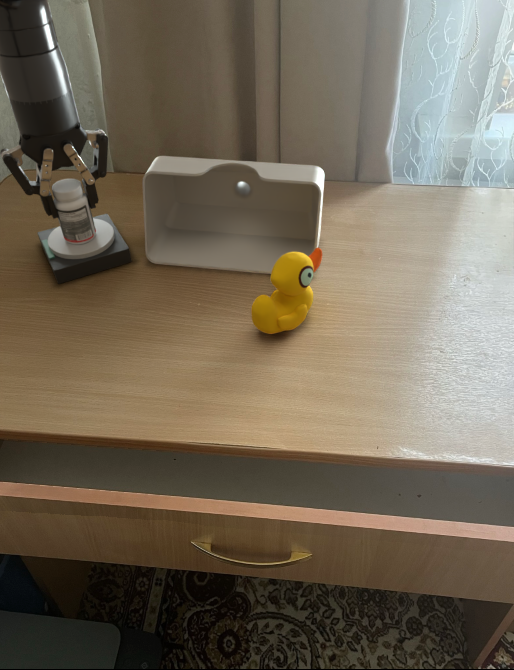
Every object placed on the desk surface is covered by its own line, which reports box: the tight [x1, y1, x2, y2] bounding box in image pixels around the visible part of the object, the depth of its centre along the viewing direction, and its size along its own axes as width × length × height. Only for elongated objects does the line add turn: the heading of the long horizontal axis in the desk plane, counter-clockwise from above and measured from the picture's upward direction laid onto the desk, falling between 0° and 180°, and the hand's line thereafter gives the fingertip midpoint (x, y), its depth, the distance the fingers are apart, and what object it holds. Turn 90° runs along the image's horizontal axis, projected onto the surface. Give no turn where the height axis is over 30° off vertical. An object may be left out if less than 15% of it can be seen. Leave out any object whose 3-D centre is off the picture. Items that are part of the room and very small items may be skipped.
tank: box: [142, 155, 325, 275], centre depth 82 cm, size 25×16×12 cm, turn 80°
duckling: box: [250, 247, 323, 335], centre depth 69 cm, size 11×5×10 cm, turn 133°
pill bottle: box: [51, 178, 96, 244], centre depth 79 cm, size 5×5×8 cm
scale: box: [36, 213, 133, 285], centre depth 83 cm, size 11×11×3 cm
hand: (73, 210), depth 79 cm, fingers closed on pill bottle, 4 cm apart
